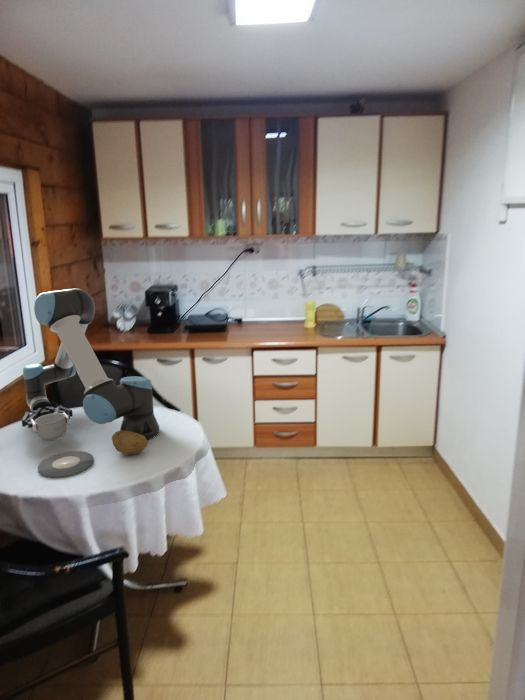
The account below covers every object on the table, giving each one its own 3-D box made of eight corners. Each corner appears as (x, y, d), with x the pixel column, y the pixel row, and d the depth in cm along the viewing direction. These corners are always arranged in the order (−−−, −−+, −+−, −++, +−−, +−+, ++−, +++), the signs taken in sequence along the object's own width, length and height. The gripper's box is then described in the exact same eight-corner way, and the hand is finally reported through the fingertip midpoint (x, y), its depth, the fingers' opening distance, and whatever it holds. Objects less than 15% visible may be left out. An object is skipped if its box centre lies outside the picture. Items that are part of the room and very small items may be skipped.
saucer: (102, 454, 179) (102, 451, 178) (78, 479, 161) (78, 476, 161) (55, 452, 181) (55, 449, 181) (27, 476, 164) (26, 473, 163)
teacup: (59, 443, 180) (56, 423, 179) (31, 443, 182) (28, 422, 180) (76, 428, 194) (74, 409, 192) (50, 428, 195) (47, 409, 193)
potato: (137, 462, 172) (135, 441, 170) (106, 455, 178) (104, 434, 176) (155, 451, 181) (153, 431, 179) (125, 444, 187) (123, 424, 185)
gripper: (72, 410, 208) (85, 426, 190) (11, 422, 196) (18, 441, 178) (70, 393, 206) (83, 408, 188) (8, 404, 194) (15, 421, 176)
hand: (51, 424), depth 183 cm, fingers closed on teacup, 11 cm apart
